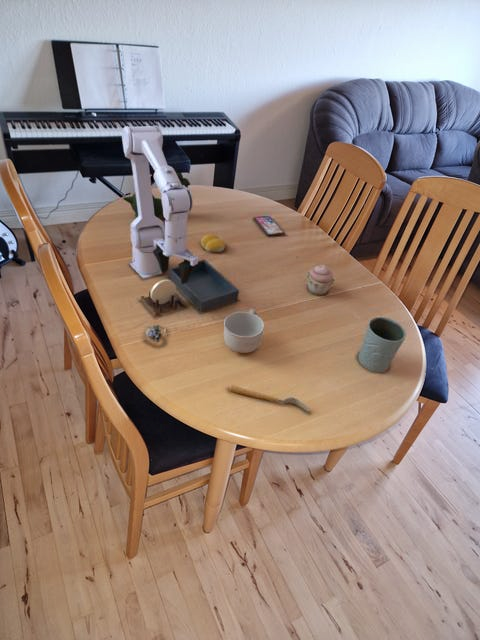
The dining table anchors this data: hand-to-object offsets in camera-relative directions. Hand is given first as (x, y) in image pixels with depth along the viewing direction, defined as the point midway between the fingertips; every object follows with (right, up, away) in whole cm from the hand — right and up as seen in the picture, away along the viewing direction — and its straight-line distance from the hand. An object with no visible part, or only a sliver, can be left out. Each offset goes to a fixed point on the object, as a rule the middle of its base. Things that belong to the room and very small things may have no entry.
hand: (174, 276), depth 124 cm
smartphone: (+30, +26, +55) cm, 67 cm away
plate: (-4, -7, +6) cm, 10 cm away
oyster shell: (-4, -17, -5) cm, 18 cm away
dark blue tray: (+7, -3, +15) cm, 16 cm away
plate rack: (-4, -7, +7) cm, 11 cm away
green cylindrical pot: (+56, -24, -1) cm, 61 cm away
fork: (+26, -32, -17) cm, 44 cm away
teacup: (+19, -18, -1) cm, 27 cm away
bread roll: (+9, +14, +37) cm, 40 cm away
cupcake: (+44, -2, +24) cm, 50 cm away
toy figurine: (-14, +28, +48) cm, 58 cm away
